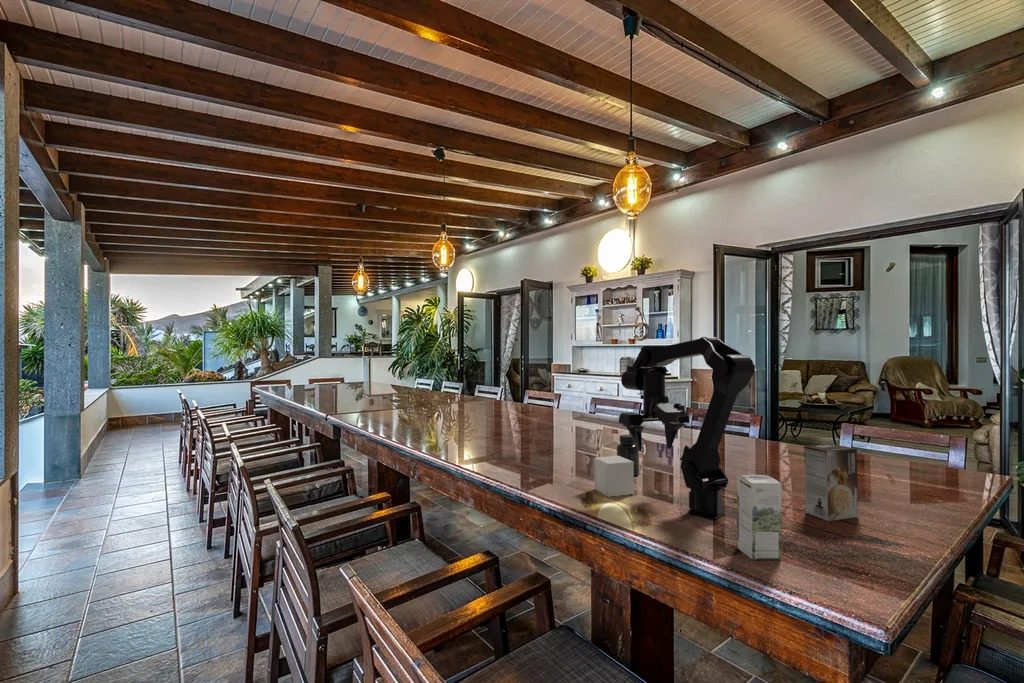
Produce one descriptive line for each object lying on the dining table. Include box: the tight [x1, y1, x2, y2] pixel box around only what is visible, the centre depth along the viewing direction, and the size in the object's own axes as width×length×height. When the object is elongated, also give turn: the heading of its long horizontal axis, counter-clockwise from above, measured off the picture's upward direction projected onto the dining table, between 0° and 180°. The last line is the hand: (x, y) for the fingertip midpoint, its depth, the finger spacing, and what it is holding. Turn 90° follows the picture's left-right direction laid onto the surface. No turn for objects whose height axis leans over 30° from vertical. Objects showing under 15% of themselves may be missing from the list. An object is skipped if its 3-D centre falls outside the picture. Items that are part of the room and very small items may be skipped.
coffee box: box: [803, 443, 859, 522], centre depth 114 cm, size 9×6×16 cm
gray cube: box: [593, 455, 635, 498], centre depth 132 cm, size 8×8×9 cm
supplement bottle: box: [616, 434, 640, 477], centre depth 151 cm, size 7×7×12 cm
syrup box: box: [736, 474, 783, 561], centre depth 92 cm, size 6×6×14 cm
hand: (654, 449), depth 130 cm, fingers open, 9 cm apart
